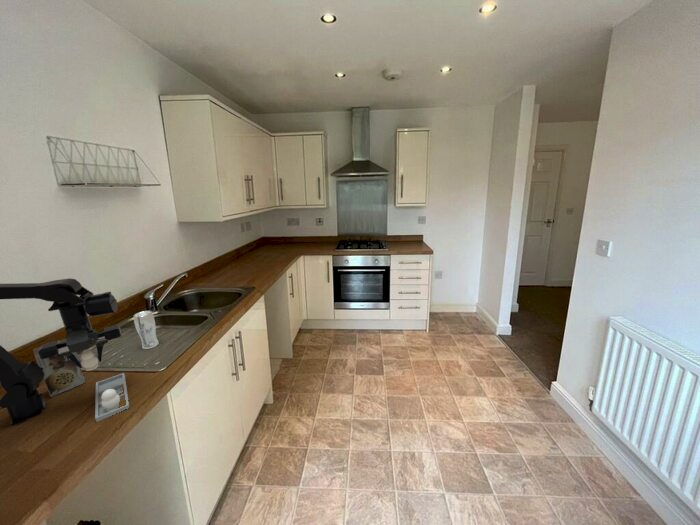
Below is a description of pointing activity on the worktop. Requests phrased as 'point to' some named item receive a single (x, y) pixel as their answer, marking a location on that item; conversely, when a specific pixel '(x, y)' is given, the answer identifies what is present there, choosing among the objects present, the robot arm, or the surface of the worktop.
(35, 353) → the coffee box
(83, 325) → the robot arm
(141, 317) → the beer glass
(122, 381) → the gray divided compartment tray
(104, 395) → the white drawer knob
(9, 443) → the worktop surface
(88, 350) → the cream stacked ball figurine
